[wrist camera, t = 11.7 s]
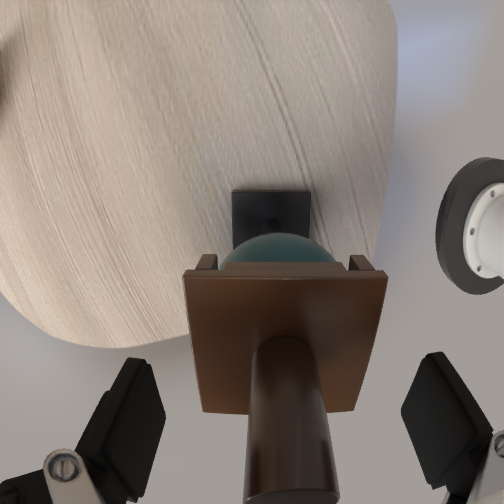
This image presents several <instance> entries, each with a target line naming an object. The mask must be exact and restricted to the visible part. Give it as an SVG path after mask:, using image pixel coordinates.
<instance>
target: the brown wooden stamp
mask: <svg viewBox="0 0 504 504" xmlns="http://www.w3.org/2000/svg"><path fill="white" fill-rule="evenodd" d="M182 280H183V288H184V297H185V305H186V312H187V320H188V327H189V334H190V341H191V347H192V354H193V360H194V366H195V372H196V378H197V383H198V389H199V394H200V399H201V405H202V411H203V412H207V413H222V414H243V415H249V418H248V432H247V448H246V462H245V463H246V464H245V477H244V492H243V504H336V503H337V502H338V501H339V499H340V492H339V486H338V479H337V472H336V466H335V460H334V454H333V448H332V442H331V436H330V430H329V424H328V419H327V413H335V412H346V411H353V410H354V408H355V405H356V402H357V399H358V396H359V392H360V390H361V386H362V383H363V380H364V376H365V373H366V370H367V366H368V363H369V360H370V356H371V352H372V348H373V345H374V341H375V337H376V333H377V329H378V325H379V320H380V316H381V312H382V307H383V302H384V298H385V293H386V288H387V282H388V276H387V275H386V273H385V272H384V271H383V270H381V271H380V270H375V269H374V267H373V266H372V265H371V264H370V262H369V261H368V260H367V259H366V257H365V256H364V255H350V261H349V270H348V271H346V269H345V267H344V266H343V264H342V263H341V262H226V263H225V266H224V269H223V270H218V262H217V255H216V254H203V255H202V257H201V259H200V260H199V262H198V264H197V266H196V268H195V270H186V271H185V273H184V274H183V276H182Z"/></svg>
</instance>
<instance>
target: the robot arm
mask: <svg viewBox="0 0 504 504" xmlns="http://www.w3.org/2000/svg"><path fill="white" fill-rule="evenodd" d="M463 251H464V255H465V259H466V262H467V264H468V266H469V267H470V268H471V270H472V271H474V272H475V273H476V274H477V275H479V276H480V277H483V278H493V277H496V276H500V277H501V278H503V279H504V183H501V182H499V183H493V184H491V185H488V186H487V187H486V188H485V189H483V190H482V191H481V192H480V193H479V195H478V196H477V197H476V199H475V200H474V202H473V203H472V206H471V208H470V210H469V212H468V215H467V218H466V221H465V226H464V232H463ZM401 416H402V419H403V421H404V423H405V426H406V428H407V431H408V433H409V436H410V438H411V441H412V444H413V446H414V449H415V451H416V454H417V457H418V459H419V462H420V465H421V468H422V470H423V473H424V476H425V479H426V481H427V483H428V484H431V486H432V489H433V490H434V489H436V488H439V487H442V486H445V485H446V487H447V492H446V495H445V497H444V499H443V502H442V504H504V430H502V431H499V432H497V433H496V434H495V435H494V436H493V434H492V432H493V428H492V427H491V425H490V423H489V422H488V420H487V418H486V417H485V415H484V413H483V412H482V410H481V408H480V407H479V405H478V403H477V402H476V400H475V399H474V397H473V396H472V394H471V392H470V391H469V389H468V388H467V386H466V385H465V383H464V382H463V380H462V379H461V377H460V376H459V374H458V373H457V372H456V370H455V368H454V367H453V366H452V364H451V363H450V361H449V360H448V358H447V357H446V356H445V354H444V353H443V352H435V353H429V354H427V355H426V356H425V358H423V359H422V361H421V363H420V366H419V368H418V371H417V373H416V376H415V378H414V380H413V383H412V385H411V387H410V390H409V392H408V394H407V397H406V399H405V401H404V403H403V405H402V408H401ZM165 420H166V414H165V411H164V407H163V404H162V401H161V398H160V395H159V391H158V388H157V385H156V381H155V378H154V374H153V371H152V367H151V365H150V364H147V363H146V361H145V359H138V358H131V357H130V358H127V360H126V361H125V363H124V365H123V367H122V368H121V370H120V372H119V374H118V376H117V378H116V379H115V381H114V383H113V385H112V387H111V389H110V391H106V392H105V393H104V394H103V396H102V398H101V400H100V401H99V404H98V405H97V407H96V409H95V411H94V413H93V415H92V417H91V419H90V421H89V423H88V425H87V427H86V428H85V430H84V432H83V434H82V437H81V439H80V440H79V442H78V445H77V447H76V449H75V451H72V450H70V449H58V450H56V451H53V452H51V453H50V454H49V455H48V456H47V457H46V459H45V461H44V465H43V469H41V470H38V471H35V472H31V473H28V474H25V475H21V476H18V477H14V478H11V479H7V480H5V481H3V482H2V483H1V484H0V504H126V501H130V502H134V503H137V501H138V497H143V496H144V493H145V489H146V486H147V482H148V479H149V475H150V472H151V468H152V465H153V461H154V458H155V454H156V451H157V448H158V444H159V441H160V437H161V434H162V431H163V428H164V424H165Z"/></svg>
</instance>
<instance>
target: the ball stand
mask: <svg viewBox="0 0 504 504" xmlns="http://www.w3.org/2000/svg"><path fill="white" fill-rule="evenodd" d="M310 206H311V192H310V191H295V190H233V191H232V229H233V251H232V252H231V253H230V254H229V255H228V256H227V257H226V258H225V259H224V261H223V262H222V263H221V265H220V266H219V268H218V270H223V269H224V266H225V263H226V262H336V260H335V259H334V258H333V257H332V256H331V254H330V253H329V252H328V251H327V250H325V249H324V248H323V247H322V246H320V245H319V244H317V243H316V242H314V241H312V240H310V239H309V229H310Z"/></svg>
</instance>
